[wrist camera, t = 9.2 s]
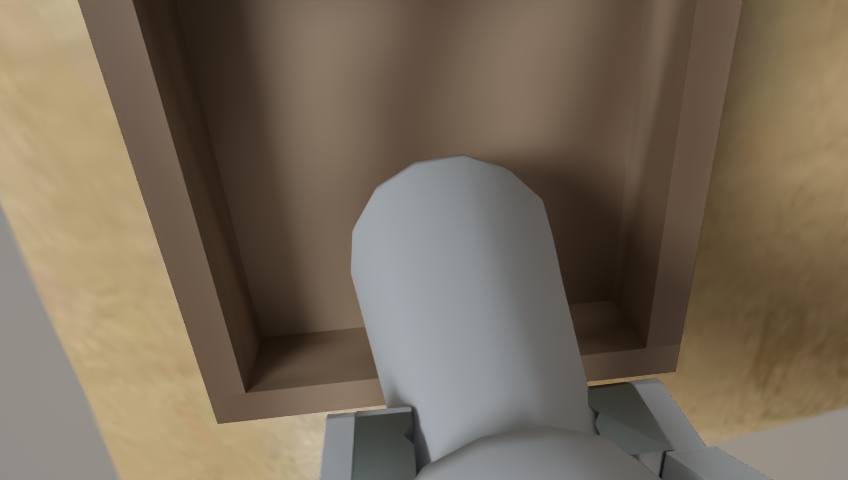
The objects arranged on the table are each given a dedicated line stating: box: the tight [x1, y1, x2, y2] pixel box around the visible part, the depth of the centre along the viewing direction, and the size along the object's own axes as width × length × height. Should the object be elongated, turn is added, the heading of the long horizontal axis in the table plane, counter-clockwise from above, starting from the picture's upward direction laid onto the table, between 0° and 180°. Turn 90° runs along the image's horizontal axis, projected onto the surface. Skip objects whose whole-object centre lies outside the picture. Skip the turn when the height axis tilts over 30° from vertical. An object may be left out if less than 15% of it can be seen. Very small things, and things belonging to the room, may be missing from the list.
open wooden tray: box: [78, 0, 743, 424], centre depth 18 cm, size 16×16×9 cm
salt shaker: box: [351, 154, 662, 480], centre depth 12 cm, size 6×6×13 cm
